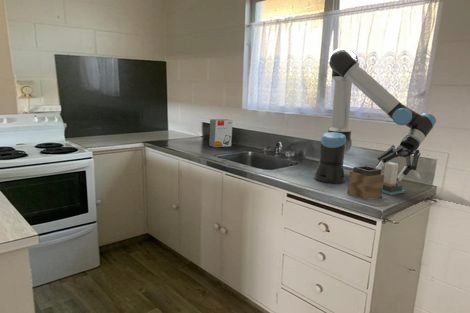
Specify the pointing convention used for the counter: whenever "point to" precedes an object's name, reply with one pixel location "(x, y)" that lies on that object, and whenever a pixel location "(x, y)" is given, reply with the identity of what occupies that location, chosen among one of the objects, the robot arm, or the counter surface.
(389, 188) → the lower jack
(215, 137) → the hard drive box
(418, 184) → the counter surface
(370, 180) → the wooden planter box
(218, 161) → the counter surface
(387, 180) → the plug
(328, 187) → the counter surface
